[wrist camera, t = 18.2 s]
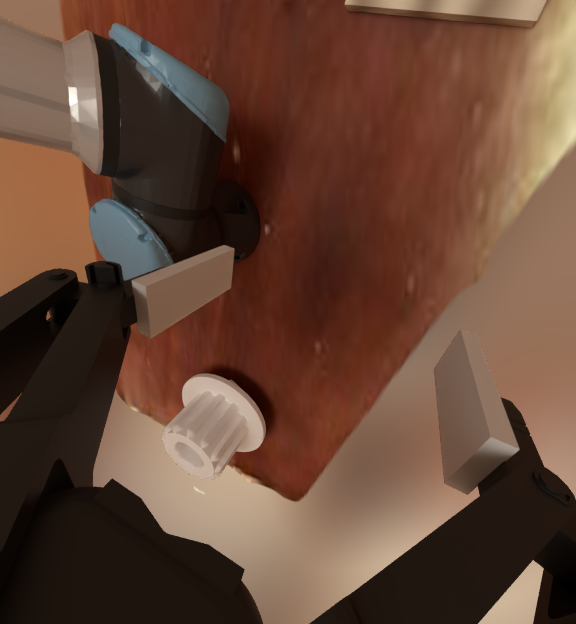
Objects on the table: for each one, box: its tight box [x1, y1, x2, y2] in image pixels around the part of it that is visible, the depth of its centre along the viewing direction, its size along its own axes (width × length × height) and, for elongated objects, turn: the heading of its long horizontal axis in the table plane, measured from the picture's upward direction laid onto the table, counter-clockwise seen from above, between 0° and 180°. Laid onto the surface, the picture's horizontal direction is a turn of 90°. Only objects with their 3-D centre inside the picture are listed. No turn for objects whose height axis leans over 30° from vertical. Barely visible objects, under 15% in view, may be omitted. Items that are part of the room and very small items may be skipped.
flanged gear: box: [162, 374, 266, 480], centre depth 67 cm, size 25×25×19 cm
